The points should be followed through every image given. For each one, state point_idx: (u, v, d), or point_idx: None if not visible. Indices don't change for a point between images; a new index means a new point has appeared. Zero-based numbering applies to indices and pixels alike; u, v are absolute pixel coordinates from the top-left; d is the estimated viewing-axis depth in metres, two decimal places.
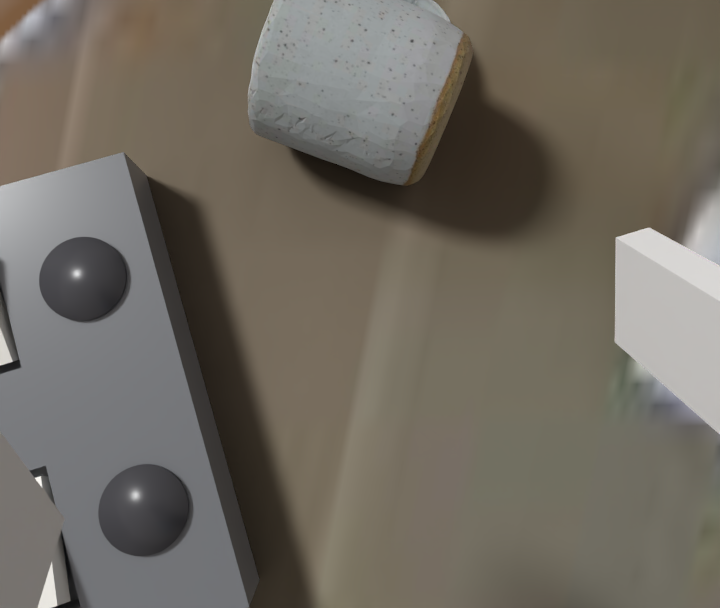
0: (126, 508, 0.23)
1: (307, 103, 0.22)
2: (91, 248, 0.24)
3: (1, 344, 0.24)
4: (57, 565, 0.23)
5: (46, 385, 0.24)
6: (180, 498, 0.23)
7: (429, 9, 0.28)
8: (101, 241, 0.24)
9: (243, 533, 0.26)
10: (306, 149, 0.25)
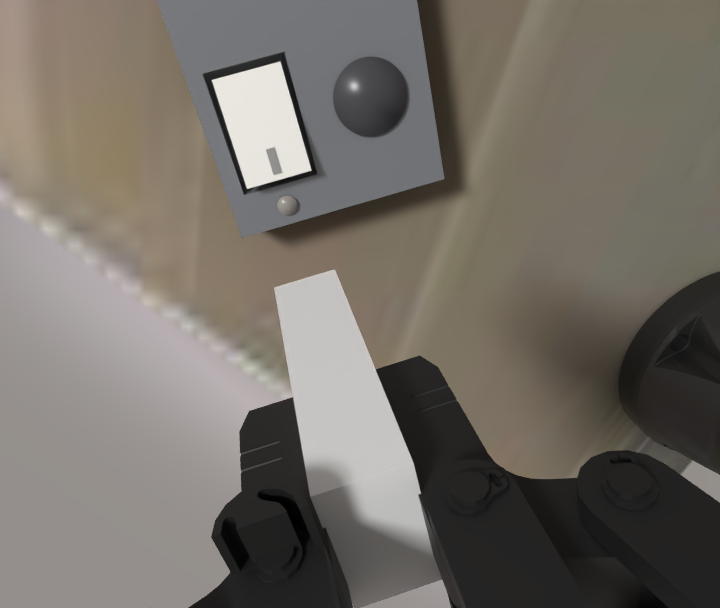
0: (357, 95, 0.27)
1: None
2: None
3: None
4: None
5: None
6: (402, 89, 0.27)
7: None
8: None
9: None
10: None
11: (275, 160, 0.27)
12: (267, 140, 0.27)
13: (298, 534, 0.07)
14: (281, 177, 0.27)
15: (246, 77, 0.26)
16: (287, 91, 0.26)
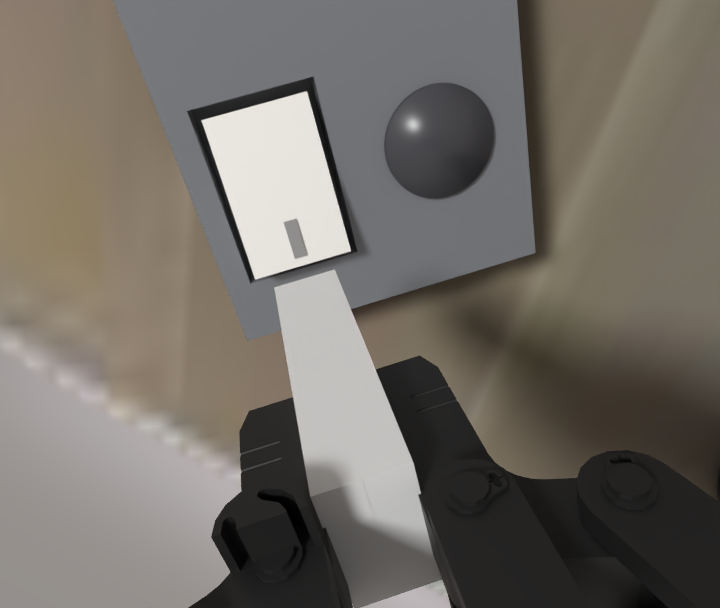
0: (420, 140, 0.18)
1: None
2: None
3: None
4: (338, 207, 0.18)
5: None
6: (486, 130, 0.18)
7: None
8: None
9: None
10: None
11: (297, 237, 0.18)
12: (286, 209, 0.18)
13: (298, 534, 0.07)
14: (306, 262, 0.18)
15: (255, 115, 0.17)
16: (317, 136, 0.17)
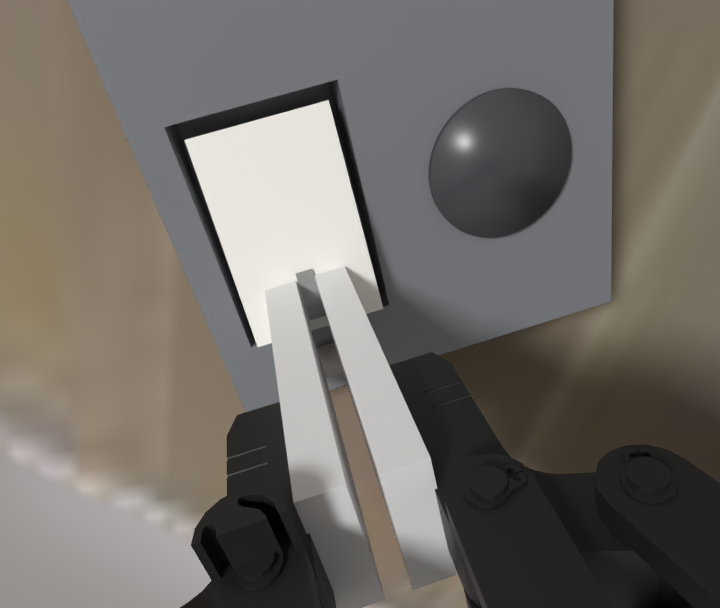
0: (477, 164, 0.14)
1: None
2: None
3: None
4: (366, 251, 0.14)
5: None
6: (562, 150, 0.14)
7: None
8: None
9: None
10: None
11: (313, 293, 0.14)
12: (299, 257, 0.13)
13: (279, 540, 0.07)
14: (325, 323, 0.14)
15: (257, 133, 0.12)
16: (341, 160, 0.13)
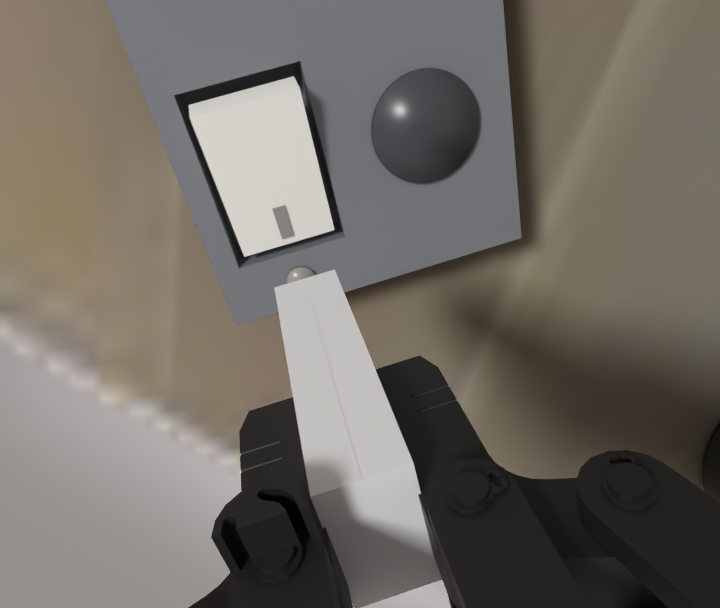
0: (407, 125, 0.18)
1: None
2: None
3: None
4: None
5: None
6: (472, 115, 0.18)
7: None
8: None
9: None
10: None
11: (284, 220, 0.19)
12: (275, 197, 0.18)
13: (298, 534, 0.07)
14: (292, 240, 0.19)
15: (245, 113, 0.16)
16: (308, 131, 0.17)
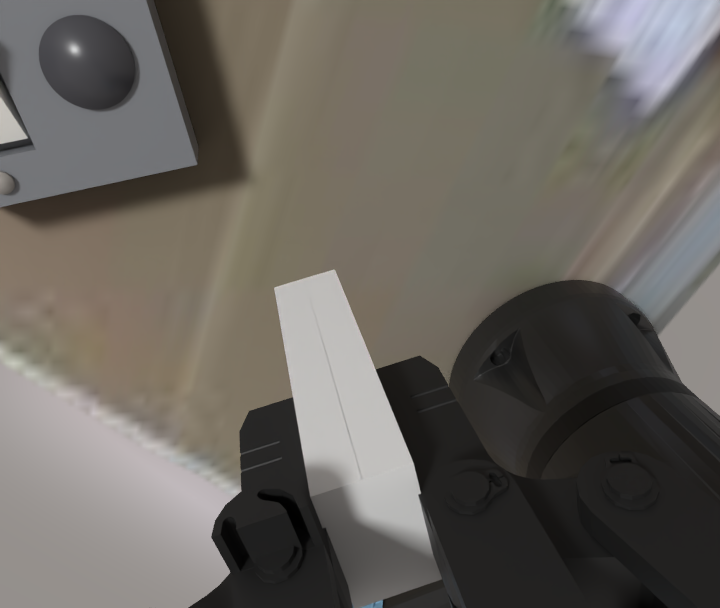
0: (69, 60, 0.23)
1: None
2: None
3: None
4: (10, 105, 0.24)
5: None
6: (125, 56, 0.23)
7: None
8: None
9: (184, 103, 0.27)
10: None
11: None
12: None
13: (298, 534, 0.07)
14: None
15: None
16: None
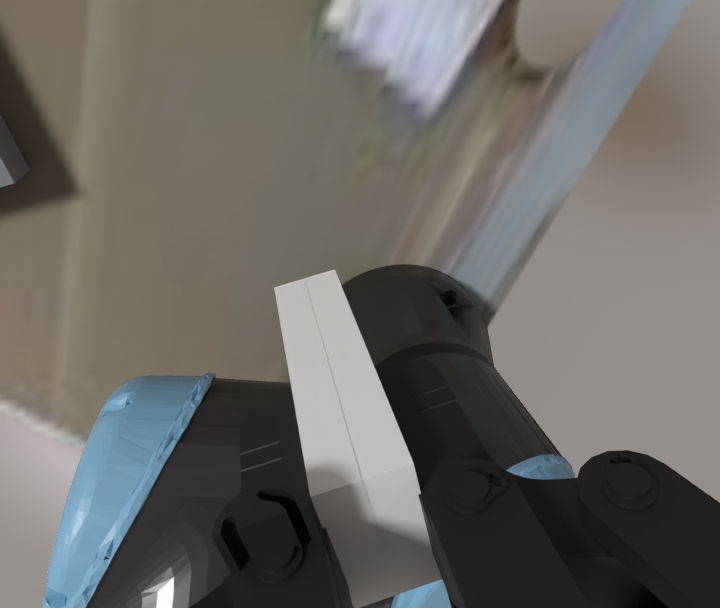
0: None
1: None
2: None
3: None
4: None
5: None
6: None
7: None
8: None
9: (7, 134, 0.34)
10: None
11: None
12: None
13: (298, 534, 0.07)
14: None
15: None
16: None
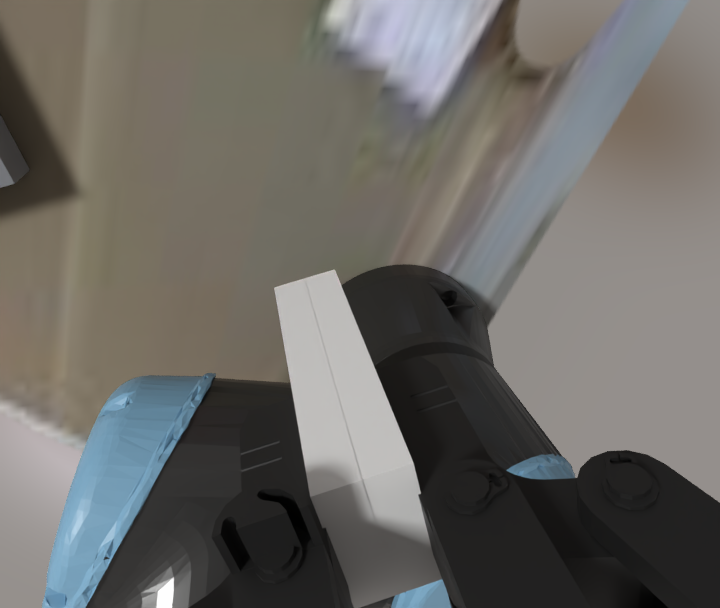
0: None
1: None
2: None
3: None
4: None
5: None
6: None
7: None
8: None
9: (7, 135, 0.34)
10: None
11: None
12: None
13: (298, 534, 0.07)
14: None
15: None
16: None
